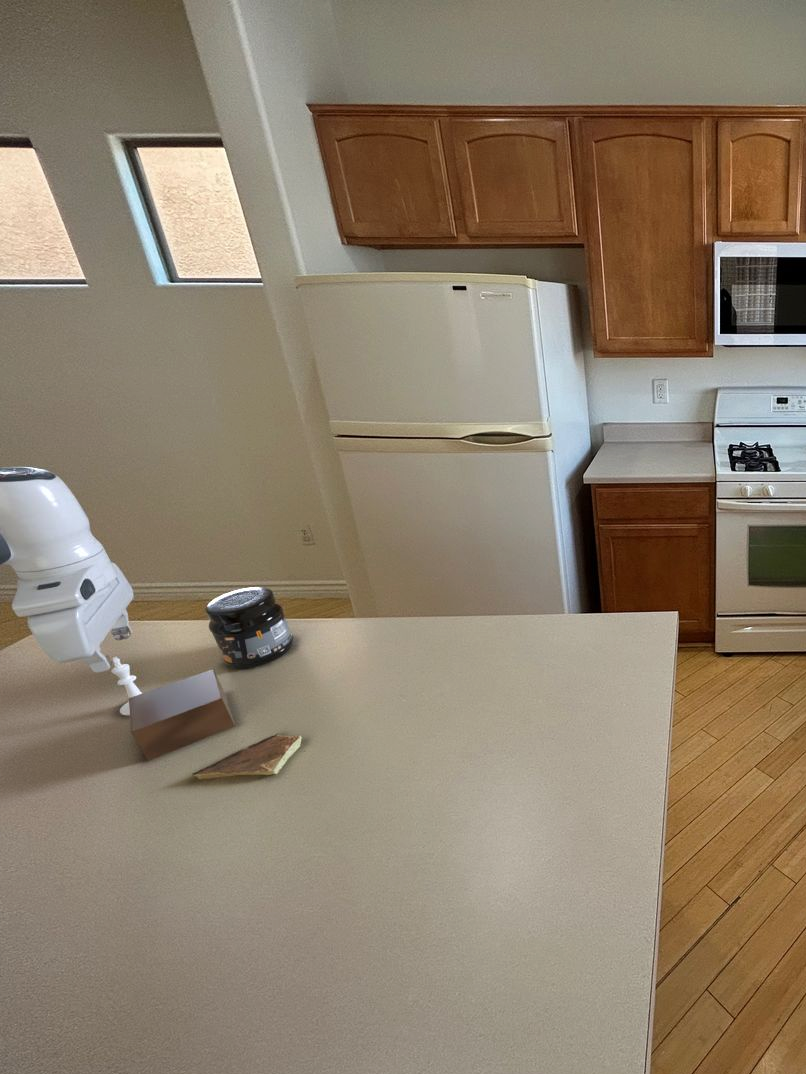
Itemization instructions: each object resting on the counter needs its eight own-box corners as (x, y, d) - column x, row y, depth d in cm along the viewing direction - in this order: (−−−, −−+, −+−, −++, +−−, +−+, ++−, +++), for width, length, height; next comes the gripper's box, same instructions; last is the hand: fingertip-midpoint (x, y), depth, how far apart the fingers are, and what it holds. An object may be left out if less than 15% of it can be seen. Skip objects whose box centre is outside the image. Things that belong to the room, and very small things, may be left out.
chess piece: (119, 722, 88) (90, 671, 83) (122, 706, 91) (93, 656, 87) (161, 708, 91) (135, 658, 86) (162, 693, 94) (137, 644, 90)
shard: (195, 782, 77) (190, 772, 77) (235, 741, 84) (231, 732, 84) (275, 779, 78) (271, 770, 77) (308, 739, 85) (305, 730, 84)
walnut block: (148, 763, 80) (130, 732, 78) (145, 727, 87) (128, 698, 84) (236, 727, 87) (221, 698, 84) (226, 697, 93) (213, 668, 91)
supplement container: (227, 650, 105) (203, 596, 100) (295, 632, 111) (275, 579, 106) (224, 679, 97) (198, 622, 92) (297, 657, 103) (276, 602, 98)
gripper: (69, 552, 87) (110, 626, 93) (4, 613, 71) (59, 697, 77) (123, 544, 90) (160, 615, 96) (72, 600, 74) (120, 682, 80)
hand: (114, 652), depth 86 cm, fingers open, 8 cm apart
